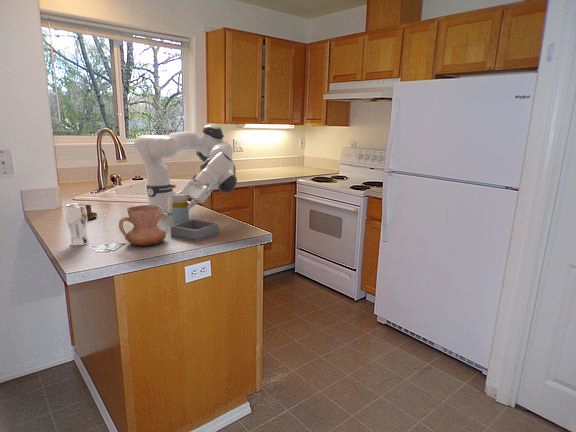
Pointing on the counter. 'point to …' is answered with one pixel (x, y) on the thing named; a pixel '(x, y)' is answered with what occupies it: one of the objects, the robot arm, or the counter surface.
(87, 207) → the cup and saucer
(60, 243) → the counter surface
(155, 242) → the ceramic jug
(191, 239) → the box
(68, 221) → the beer glass
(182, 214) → the bottle
